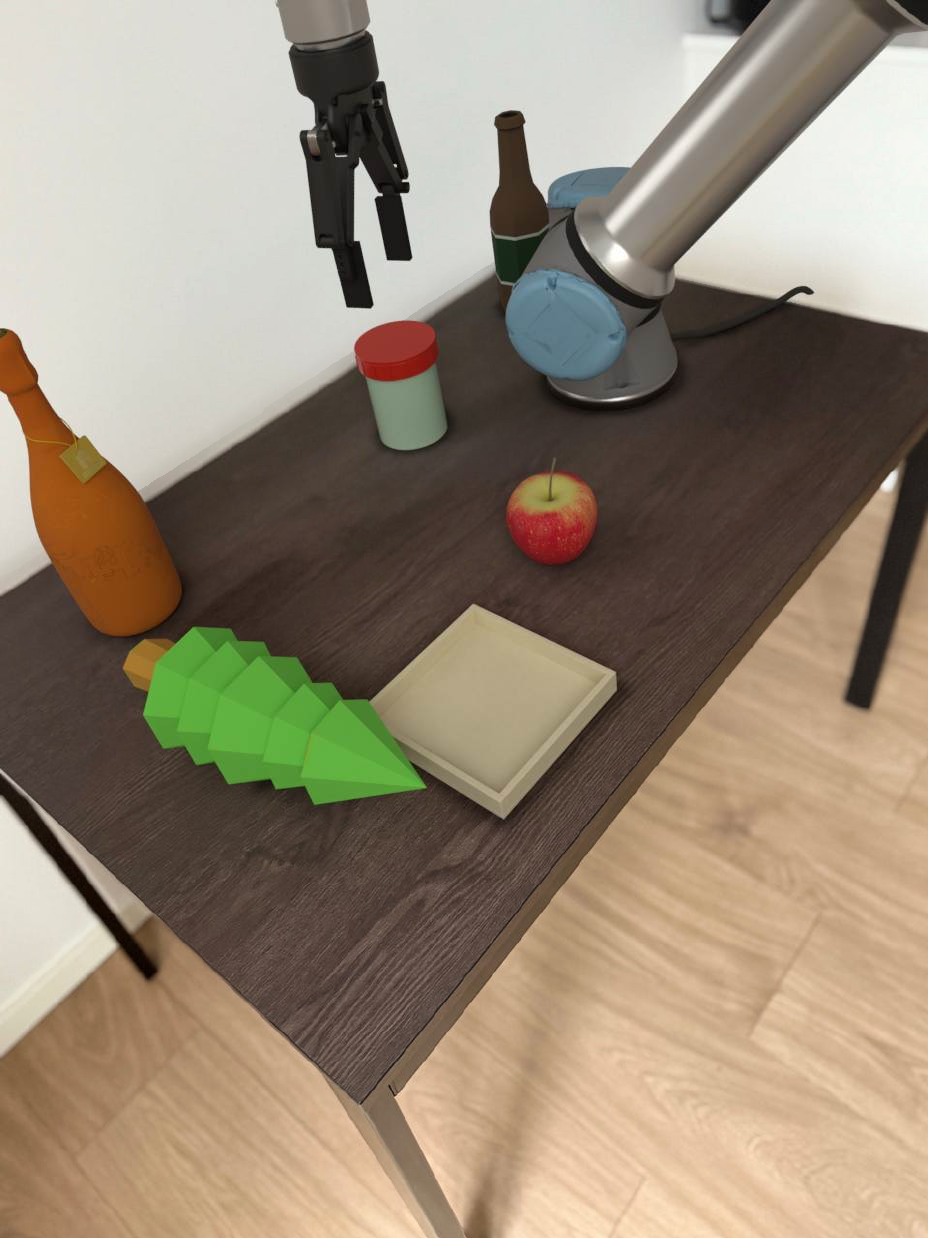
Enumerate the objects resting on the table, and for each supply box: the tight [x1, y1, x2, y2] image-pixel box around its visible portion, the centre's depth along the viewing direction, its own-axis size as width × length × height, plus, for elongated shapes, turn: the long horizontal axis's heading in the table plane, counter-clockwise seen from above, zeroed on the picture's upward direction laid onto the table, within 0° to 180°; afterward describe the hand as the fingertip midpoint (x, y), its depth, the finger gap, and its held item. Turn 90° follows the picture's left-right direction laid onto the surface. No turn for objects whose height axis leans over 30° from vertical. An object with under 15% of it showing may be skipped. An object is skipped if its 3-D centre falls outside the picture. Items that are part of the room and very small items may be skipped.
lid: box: [353, 319, 440, 381], centre depth 104 cm, size 9×9×2 cm
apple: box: [505, 457, 598, 566], centre depth 88 cm, size 8×8×10 cm
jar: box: [364, 361, 448, 451], centre depth 107 cm, size 8×8×11 cm
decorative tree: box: [122, 626, 428, 806], centre depth 74 cm, size 11×12×30 cm
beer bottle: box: [489, 109, 549, 314], centre depth 120 cm, size 8×8×24 cm
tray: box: [369, 603, 618, 820], centre depth 78 cm, size 15×15×2 cm
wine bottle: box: [0, 327, 183, 637], centre depth 85 cm, size 10×10×30 cm
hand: (380, 281), depth 98 cm, fingers open, 10 cm apart
